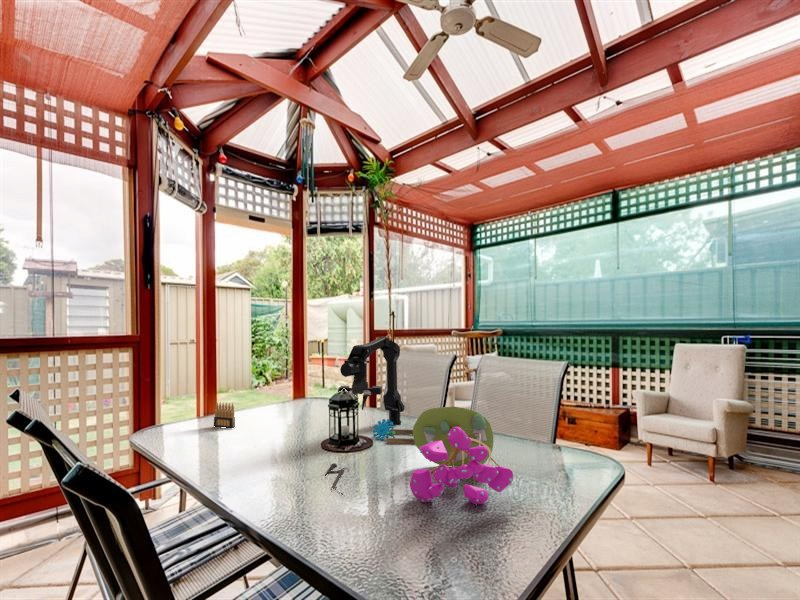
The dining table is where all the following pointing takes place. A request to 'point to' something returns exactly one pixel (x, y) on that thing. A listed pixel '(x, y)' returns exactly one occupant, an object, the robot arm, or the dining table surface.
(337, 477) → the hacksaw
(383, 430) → the blue flower
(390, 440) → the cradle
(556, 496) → the dining table surface
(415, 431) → the pink berry cluster
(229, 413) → the ammunition clip
